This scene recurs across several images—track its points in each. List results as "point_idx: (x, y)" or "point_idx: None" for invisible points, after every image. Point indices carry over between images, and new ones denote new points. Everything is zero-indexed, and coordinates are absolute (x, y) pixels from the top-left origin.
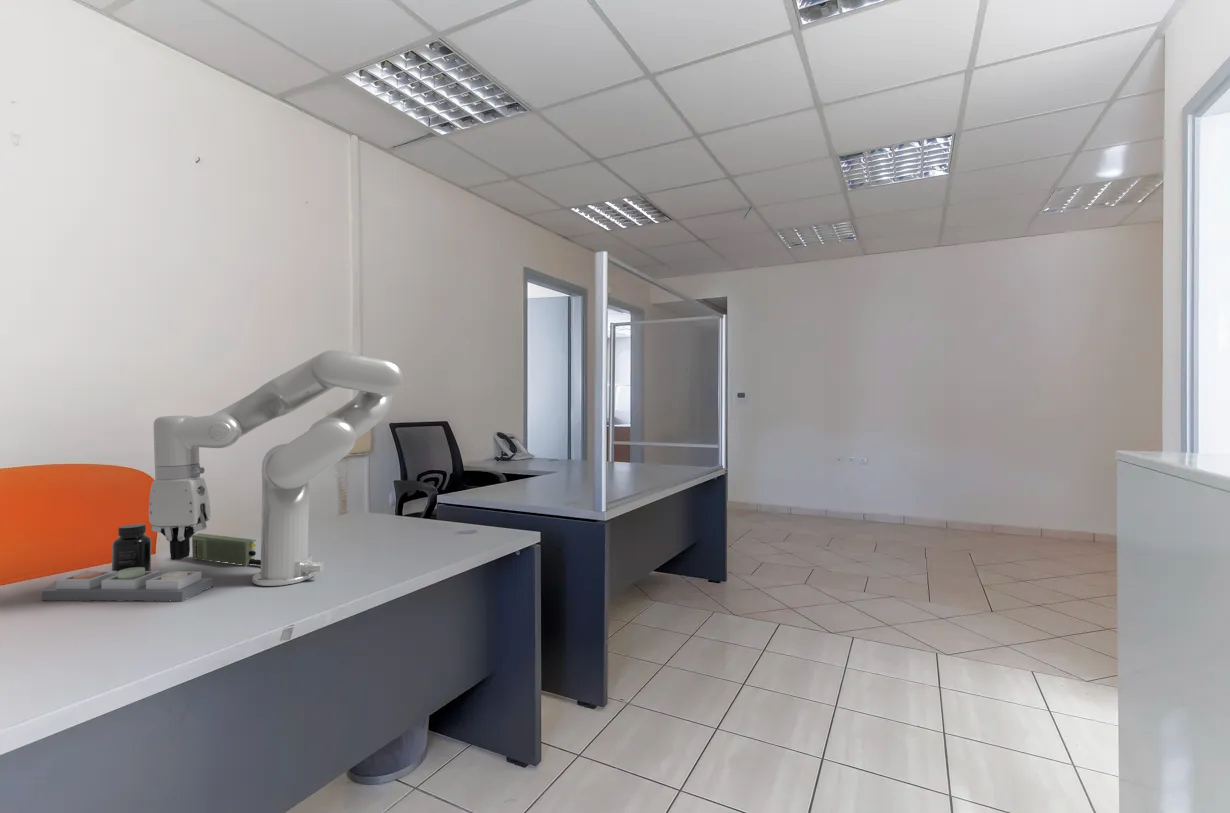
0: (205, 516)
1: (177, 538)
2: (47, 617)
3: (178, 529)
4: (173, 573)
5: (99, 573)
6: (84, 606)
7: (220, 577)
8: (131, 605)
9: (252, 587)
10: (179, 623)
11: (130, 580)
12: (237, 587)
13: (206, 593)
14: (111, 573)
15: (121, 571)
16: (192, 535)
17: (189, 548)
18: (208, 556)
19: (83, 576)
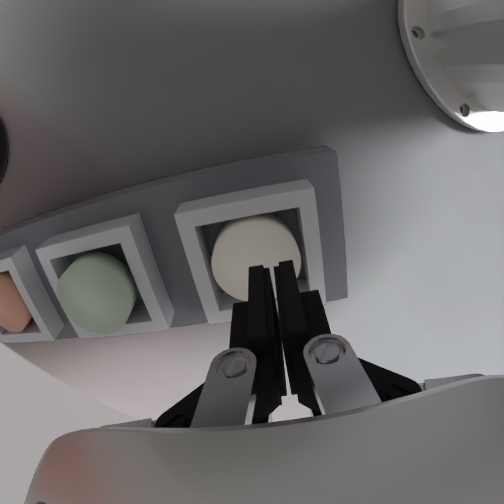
0: (501, 411)
1: (276, 387)
2: (136, 392)
3: (250, 418)
4: (229, 248)
5: (11, 295)
6: (125, 346)
7: (251, 37)
8: (226, 327)
9: (449, 134)
10: (420, 363)
11: (155, 329)
12: (409, 138)
13: (356, 208)
14: (21, 276)
15: (80, 318)
16: (348, 344)
17: (322, 303)
18: None
19: (14, 323)
